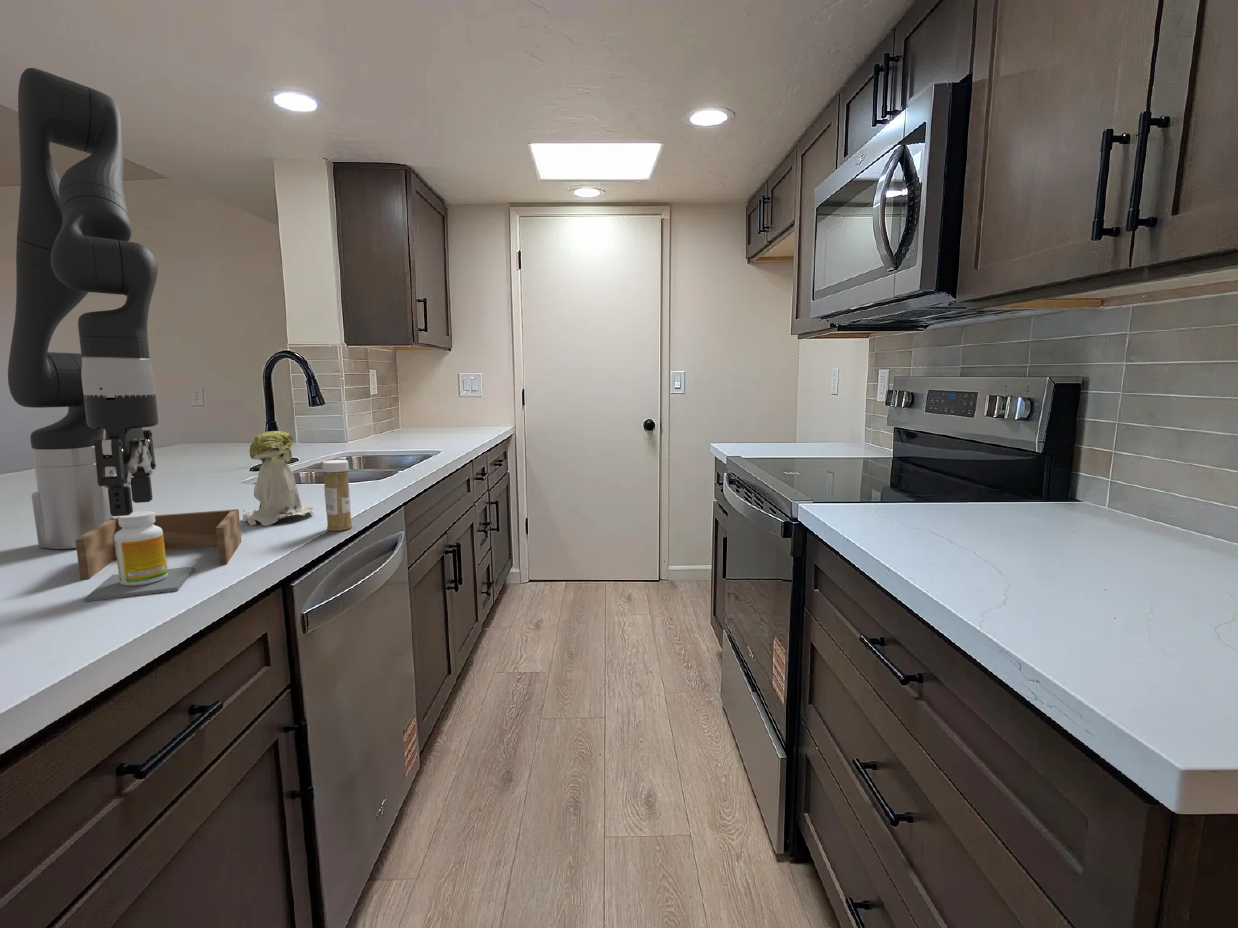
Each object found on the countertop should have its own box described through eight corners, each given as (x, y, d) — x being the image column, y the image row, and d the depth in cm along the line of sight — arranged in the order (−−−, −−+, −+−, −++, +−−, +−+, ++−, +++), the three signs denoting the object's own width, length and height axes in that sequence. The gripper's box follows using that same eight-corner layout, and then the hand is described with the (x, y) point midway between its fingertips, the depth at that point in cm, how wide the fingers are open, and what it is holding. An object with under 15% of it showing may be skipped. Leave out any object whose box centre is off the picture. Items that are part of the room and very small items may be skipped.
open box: (115, 553, 98) (110, 518, 97) (241, 541, 105) (238, 509, 104) (80, 579, 85) (75, 539, 84) (226, 564, 93) (223, 527, 92)
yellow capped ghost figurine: (327, 515, 126) (321, 430, 123) (267, 528, 115) (260, 435, 112) (291, 509, 131) (285, 427, 129) (231, 521, 120) (223, 432, 117)
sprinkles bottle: (355, 528, 115) (351, 461, 113) (331, 532, 112) (326, 463, 110) (347, 524, 118) (343, 458, 116) (323, 528, 115) (318, 460, 113)
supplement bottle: (177, 576, 86) (169, 511, 84) (137, 588, 80) (128, 519, 79) (151, 572, 87) (143, 508, 86) (110, 584, 82) (101, 516, 81)
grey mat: (112, 577, 86) (112, 574, 86) (194, 569, 90) (194, 566, 90) (85, 601, 77) (84, 597, 77) (177, 590, 81) (177, 587, 81)
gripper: (105, 390, 84) (117, 500, 87) (60, 393, 72) (76, 522, 74) (169, 390, 87) (179, 496, 90) (137, 394, 75) (150, 517, 77)
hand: (132, 508), depth 82 cm, fingers open, 8 cm apart
